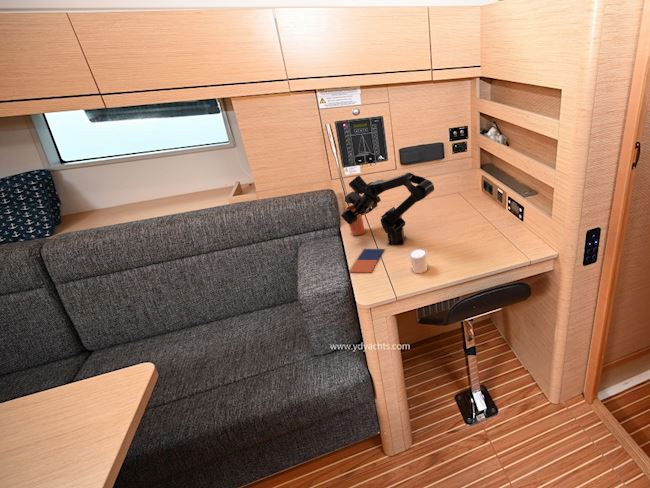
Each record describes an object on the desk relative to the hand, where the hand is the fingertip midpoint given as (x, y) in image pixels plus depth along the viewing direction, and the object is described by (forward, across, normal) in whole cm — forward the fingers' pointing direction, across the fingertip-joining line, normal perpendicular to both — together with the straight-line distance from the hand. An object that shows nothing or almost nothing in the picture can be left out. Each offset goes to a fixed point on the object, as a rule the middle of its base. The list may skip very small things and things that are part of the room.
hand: (353, 219), depth 159 cm
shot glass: (-27, +14, +38) cm, 48 cm away
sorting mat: (-10, +17, +20) cm, 29 cm away
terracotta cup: (+4, 0, +6) cm, 7 cm away
